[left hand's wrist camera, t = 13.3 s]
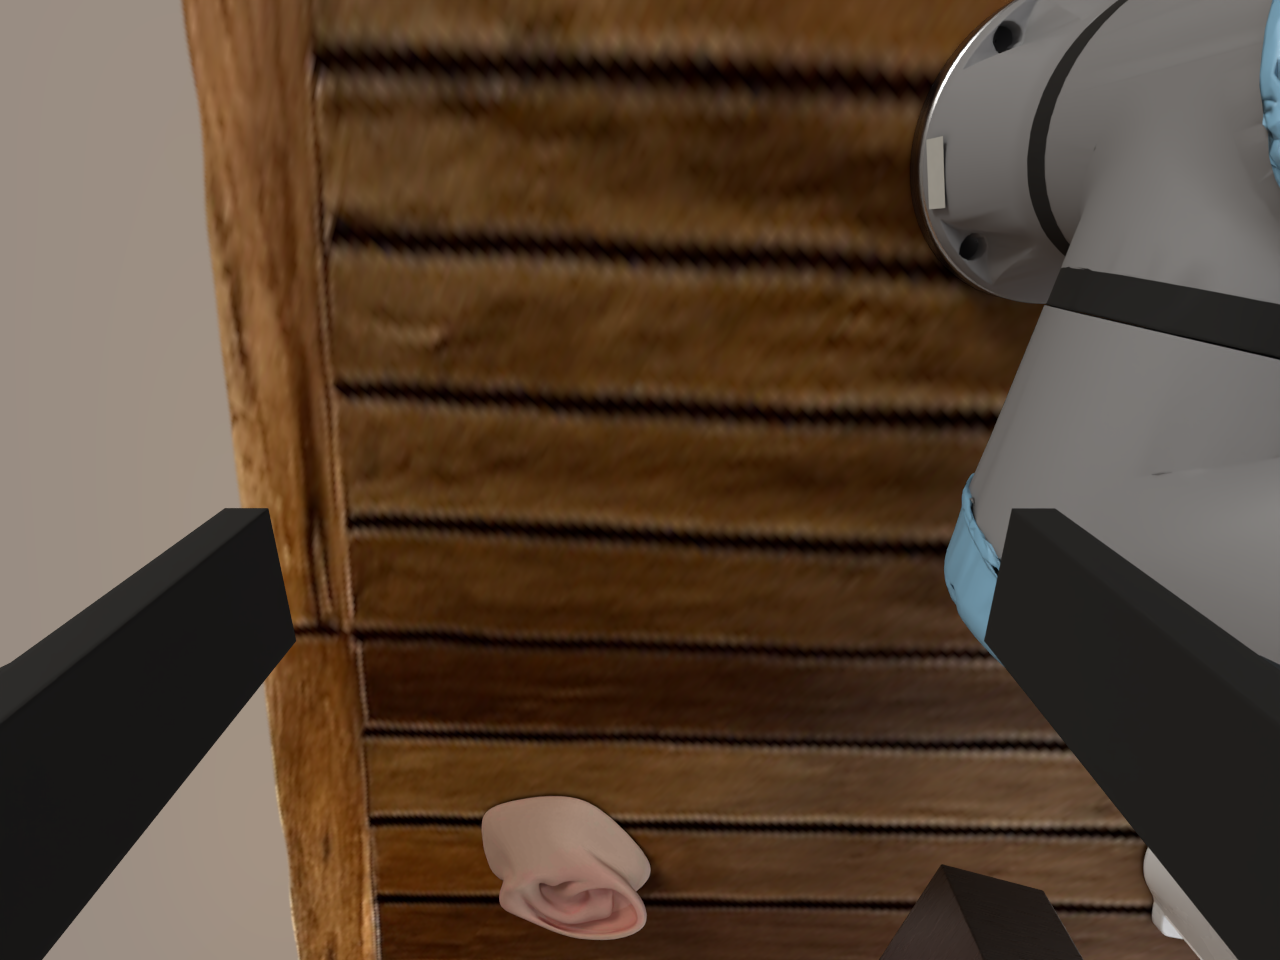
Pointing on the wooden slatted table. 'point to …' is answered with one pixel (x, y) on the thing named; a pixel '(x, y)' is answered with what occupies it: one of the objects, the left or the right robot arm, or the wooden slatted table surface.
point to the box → (980, 922)
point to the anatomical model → (566, 867)
